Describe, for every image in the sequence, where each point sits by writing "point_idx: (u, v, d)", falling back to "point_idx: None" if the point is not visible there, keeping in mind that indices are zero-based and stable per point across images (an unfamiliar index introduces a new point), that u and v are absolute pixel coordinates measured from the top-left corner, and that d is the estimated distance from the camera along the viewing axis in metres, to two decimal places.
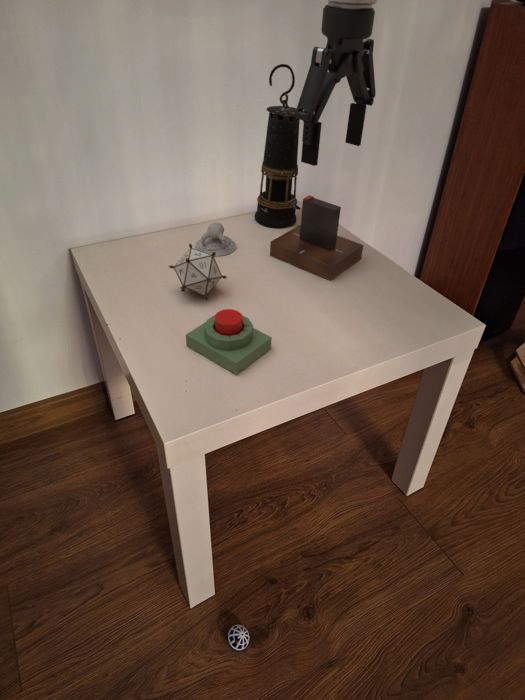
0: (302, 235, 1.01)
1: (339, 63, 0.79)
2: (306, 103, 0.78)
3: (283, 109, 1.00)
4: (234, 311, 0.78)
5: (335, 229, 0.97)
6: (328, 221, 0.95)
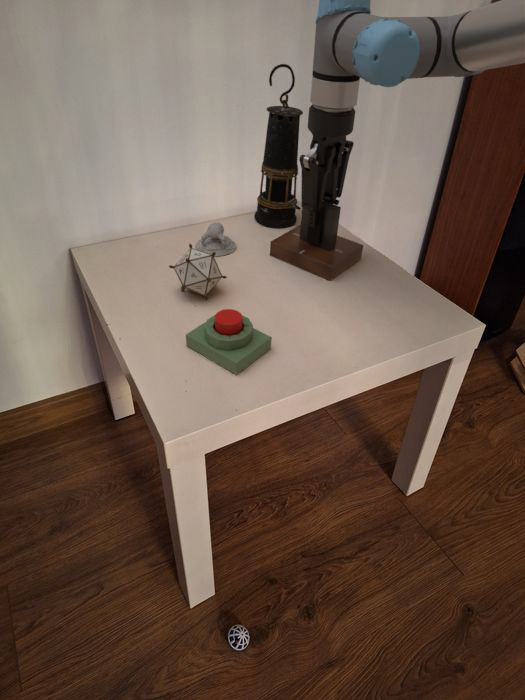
0: (302, 235, 1.01)
1: (325, 159, 0.88)
2: (308, 199, 0.91)
3: (283, 109, 1.00)
4: (234, 311, 0.78)
5: (335, 229, 0.97)
6: (328, 221, 0.95)
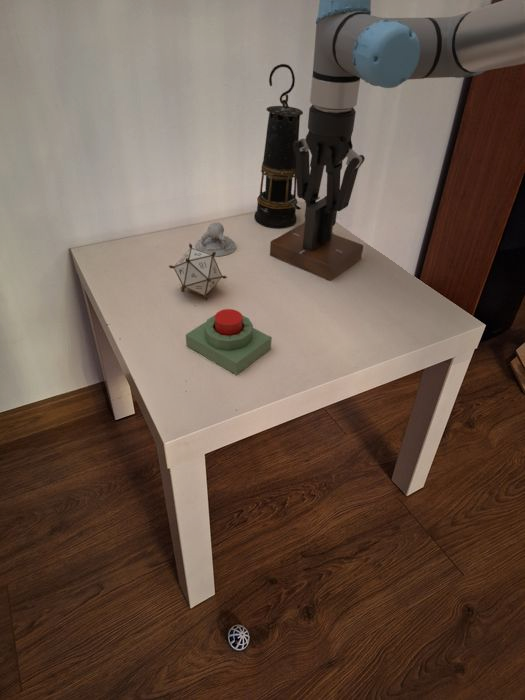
0: None
1: None
2: None
3: (283, 109, 1.00)
4: (234, 311, 0.78)
5: (309, 230, 0.96)
6: None
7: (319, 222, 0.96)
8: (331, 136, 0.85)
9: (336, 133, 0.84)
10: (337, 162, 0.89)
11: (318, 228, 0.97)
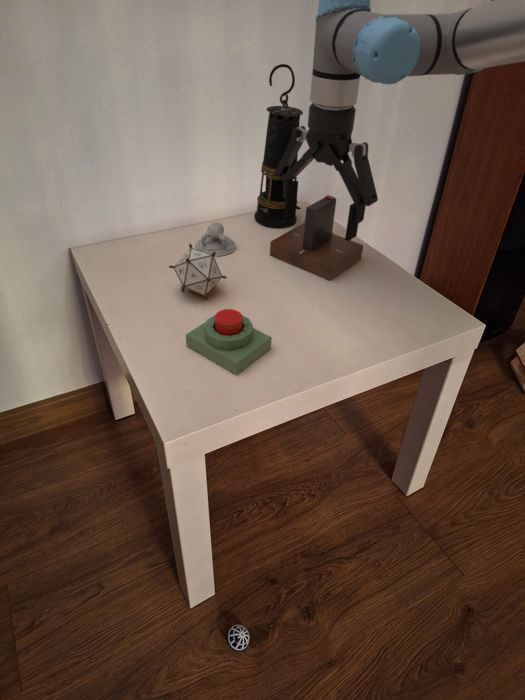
0: None
1: None
2: None
3: (283, 109, 1.00)
4: (234, 311, 0.78)
5: (308, 230, 0.96)
6: None
7: (319, 222, 0.96)
8: (331, 134, 0.85)
9: (336, 131, 0.84)
10: None
11: (318, 228, 0.97)
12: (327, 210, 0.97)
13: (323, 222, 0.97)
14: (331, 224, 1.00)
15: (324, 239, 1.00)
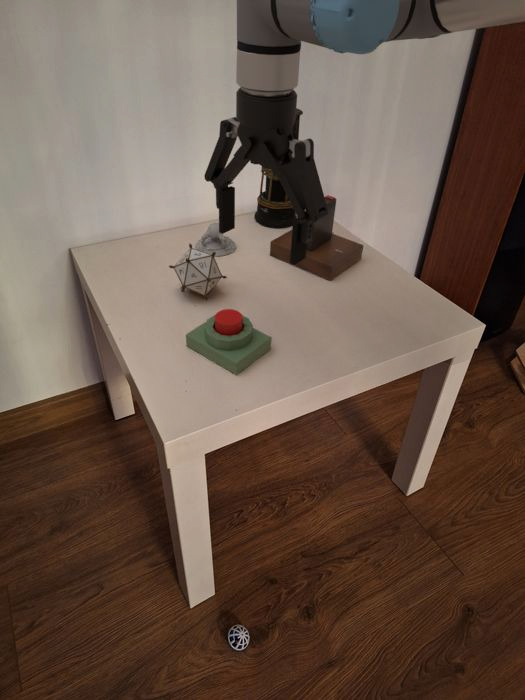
0: None
1: None
2: None
3: None
4: (234, 311, 0.78)
5: None
6: None
7: (319, 222, 0.96)
8: (263, 127, 0.64)
9: (269, 124, 0.64)
10: None
11: (318, 228, 0.97)
12: None
13: (323, 222, 0.97)
14: (331, 224, 1.00)
15: (324, 239, 1.00)
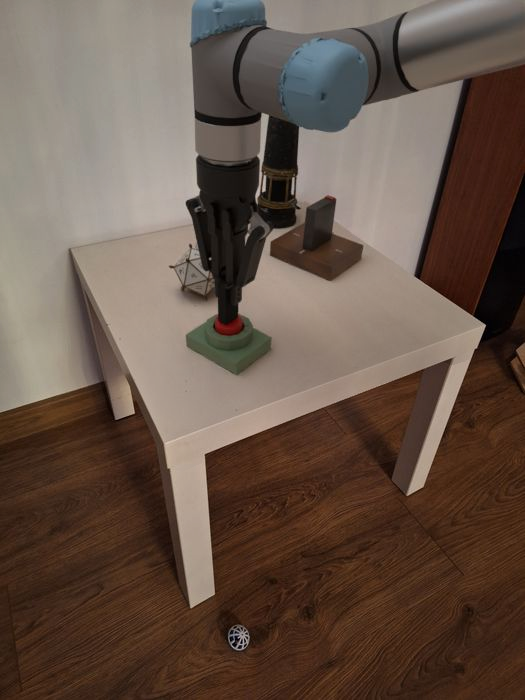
0: None
1: None
2: None
3: None
4: None
5: (308, 230, 0.96)
6: None
7: (319, 222, 0.96)
8: (224, 196, 0.61)
9: (231, 193, 0.61)
10: (239, 228, 0.65)
11: (318, 228, 0.97)
12: (327, 210, 0.97)
13: (323, 222, 0.97)
14: (331, 224, 1.00)
15: (324, 239, 1.00)
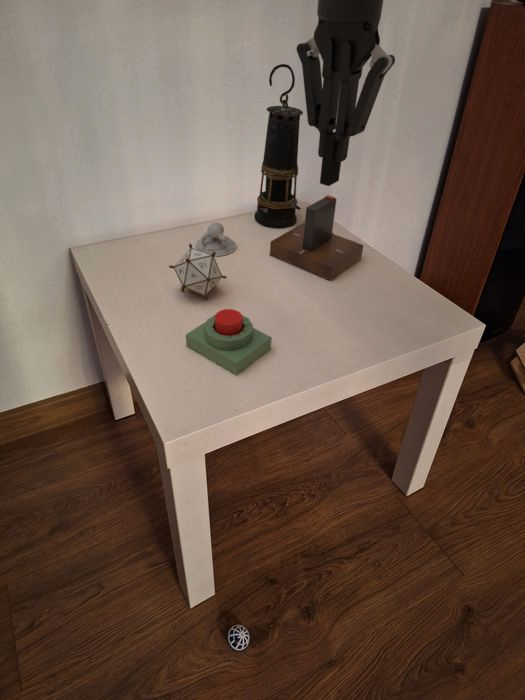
0: None
1: None
2: None
3: (283, 109, 1.00)
4: (234, 311, 0.78)
5: (308, 230, 0.96)
6: None
7: (319, 222, 0.96)
8: (351, 21, 0.60)
9: (358, 16, 0.60)
10: (358, 65, 0.64)
11: (318, 228, 0.97)
12: (327, 210, 0.97)
13: (323, 222, 0.97)
14: (331, 224, 1.00)
15: (324, 239, 1.00)
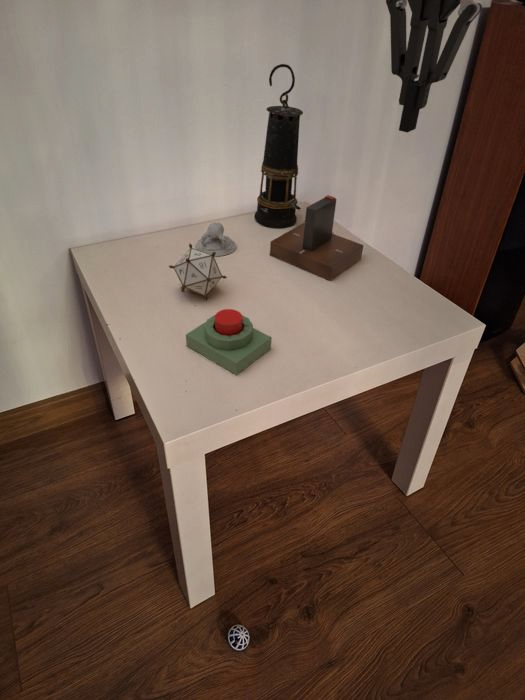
0: None
1: None
2: None
3: (283, 109, 1.00)
4: (234, 311, 0.78)
5: (308, 230, 0.96)
6: None
7: (319, 222, 0.96)
8: None
9: None
10: (446, 13, 0.69)
11: (318, 228, 0.97)
12: (327, 210, 0.97)
13: (323, 222, 0.97)
14: (331, 224, 1.00)
15: (324, 239, 1.00)
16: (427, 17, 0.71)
